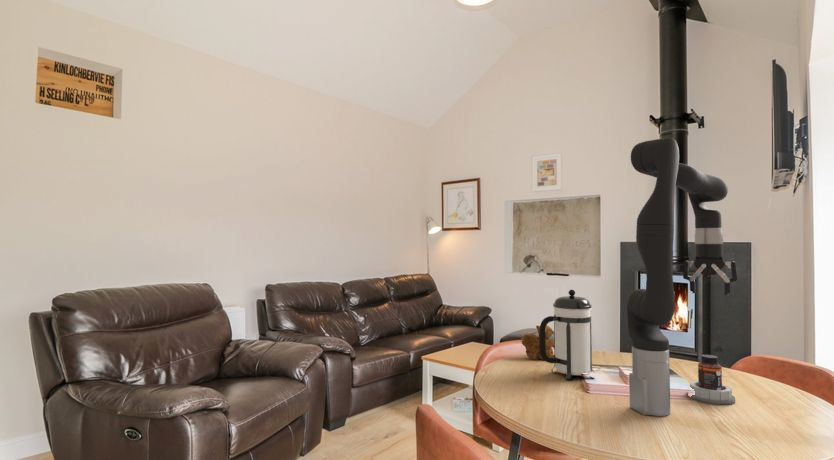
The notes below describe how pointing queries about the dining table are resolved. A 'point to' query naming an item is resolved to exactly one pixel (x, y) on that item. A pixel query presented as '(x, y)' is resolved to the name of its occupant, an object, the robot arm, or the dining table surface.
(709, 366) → the supplement bottle
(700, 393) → the bottle socket
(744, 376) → the dining table surface
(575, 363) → the coffee press
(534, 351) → the stuffed squirrel
